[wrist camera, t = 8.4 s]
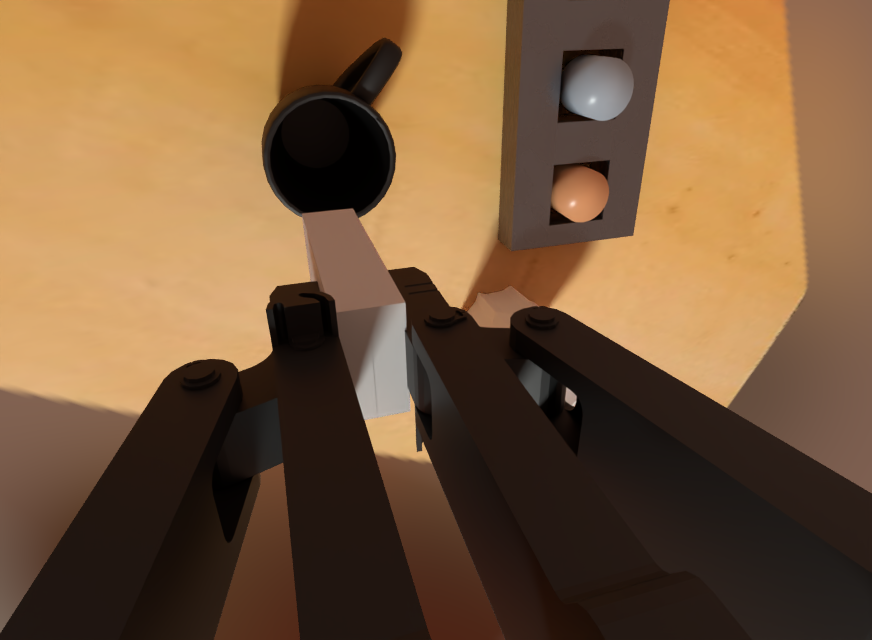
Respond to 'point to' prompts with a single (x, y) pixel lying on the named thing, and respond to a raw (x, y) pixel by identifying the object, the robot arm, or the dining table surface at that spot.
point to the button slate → (596, 86)
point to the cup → (504, 314)
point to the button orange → (578, 192)
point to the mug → (334, 140)
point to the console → (573, 134)
